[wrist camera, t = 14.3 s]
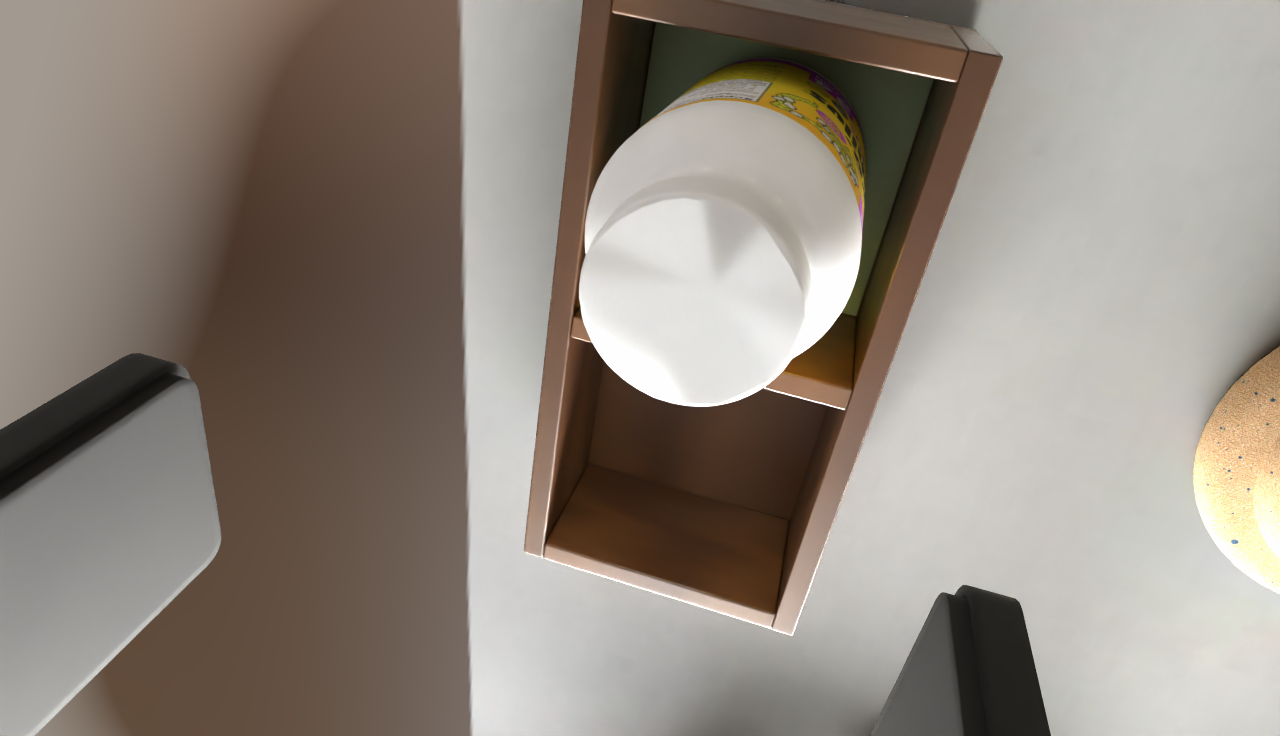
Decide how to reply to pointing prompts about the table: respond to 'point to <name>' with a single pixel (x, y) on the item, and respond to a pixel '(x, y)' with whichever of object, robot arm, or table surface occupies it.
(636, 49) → the wooden divided tray
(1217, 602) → the table surface
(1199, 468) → the candle holder
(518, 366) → the table surface
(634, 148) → the supplement bottle
